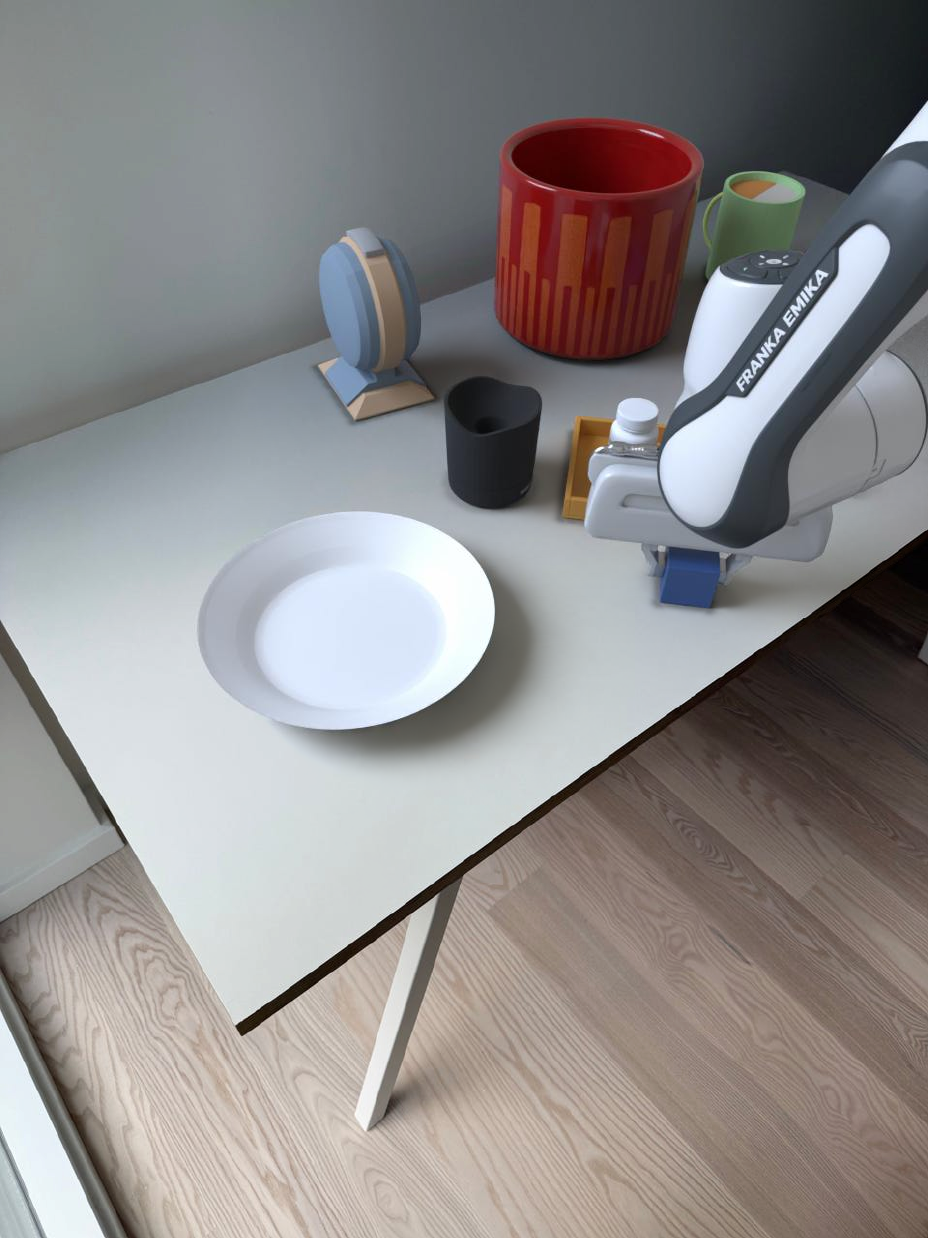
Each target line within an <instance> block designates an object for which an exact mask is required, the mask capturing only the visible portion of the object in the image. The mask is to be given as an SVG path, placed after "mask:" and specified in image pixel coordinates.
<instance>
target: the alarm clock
mask: <svg viewBox="0 0 928 1238" xmlns="http://www.w3.org/2000/svg"><path fill="white" fill-rule="evenodd" d="M345 233H346V236H342V237H341V239H340V240H339V241H338V242H336V243H333V244H331V245H330V246H329V248H328V249H327V250H326V251H324V253H323V254H322V256H321V258H320V263H319V268H318V269H319V270H318V285H319V294H320V301H321V305H322V310H323V315H324V318H325V322H326V325H327V328H328V331H329V334H330V336H331V339H332V341H333V343H334V345H335V347H336V349H337V351H338V353H339V354H340V356H339V357H336V358H333V359H331V360H330V359H329V360H327V361H325V362H322V363H319V364H317V367H318V369H319V371H320V372H321V374H322V375H323V376H324V377H325V379H326V380H327V382H328V383H329V385H330V386H331V388H332V389H333V391H334V393H335V394H336V395H337V397H338V398H339V399H340V401H341V403H342V404H343V405H344V407H345V408H346V410H347V411H348V413H349V414H350V416H351V417H352V418H353V420H354V421H355V422H357V421H362V420H366V419H368V418H373V417H376V416H380V415H383V414H387V413H391V412H394V411H398V410H401V409H405V408H409V407H412V406H416V405H420V404H423V403H427V402H431V401H435V399H436V398H435V396H434V395H433V394H432V393H431V391H430V390H429V389H428V388H427V386H426V385H427V384H426V383H425V381H423V379H422V378H421V377H420V375H419V374H418V373H417V372H416V371H415V369H414V368H413V367H412V366H411V364H410V363H409V361H407V359H409V358H411V356H412V355H413V354H414V353H415V352H416V350H417V349H418V347H419V345H420V339H421V335H422V334H421V333H422V314H421V304H420V299H419V292H418V289H417V285H416V281H415V278H414V274H413V272H412V270H411V267H410V265H409V263H408V261H407V259H406V257H405V255H404V253H403V252H402V250H401V249H400V248H399V246H398V245H397V243H395V242H394V241H392V240H391V239H389V238H387V237H385V236H383V235H376V234H375V232H373V231H372V230H371V229H369V228H367V227H364V226H362V227H358V228H352V229H348V230H346V231H345Z"/></svg>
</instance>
